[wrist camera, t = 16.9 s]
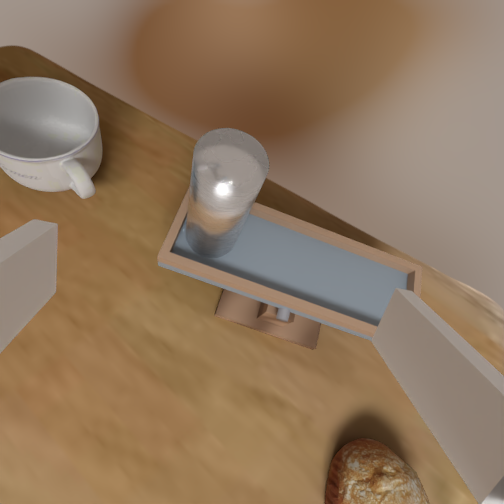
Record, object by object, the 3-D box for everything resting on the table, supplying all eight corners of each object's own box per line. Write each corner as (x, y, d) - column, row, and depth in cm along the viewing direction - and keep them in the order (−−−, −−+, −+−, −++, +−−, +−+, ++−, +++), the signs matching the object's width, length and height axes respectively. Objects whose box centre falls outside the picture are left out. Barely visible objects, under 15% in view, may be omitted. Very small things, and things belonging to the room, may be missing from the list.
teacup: (-4, 139, 38) (-45, 82, 31) (92, 119, 42) (76, 64, 35) (33, 241, 35) (-3, 204, 28) (133, 209, 39) (125, 169, 32)
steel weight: (177, 247, 31) (181, 174, 20) (195, 204, 33) (208, 117, 22) (227, 265, 31) (257, 203, 20) (242, 222, 33) (277, 145, 22)
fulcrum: (214, 315, 36) (221, 306, 32) (245, 226, 41) (254, 207, 37) (312, 349, 38) (332, 345, 33) (330, 258, 43) (349, 244, 38)
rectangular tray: (154, 276, 31) (152, 266, 28) (194, 186, 36) (196, 170, 33) (396, 361, 34) (416, 359, 31) (404, 267, 38) (422, 258, 35)
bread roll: (394, 481, 38) (449, 466, 33) (390, 599, 30) (463, 602, 25) (324, 432, 38) (369, 410, 33) (302, 536, 30) (357, 527, 25)
